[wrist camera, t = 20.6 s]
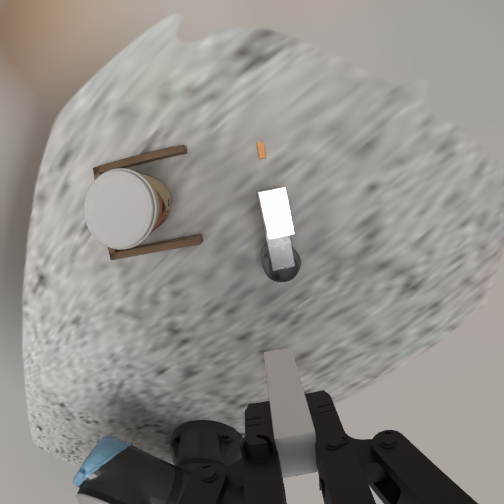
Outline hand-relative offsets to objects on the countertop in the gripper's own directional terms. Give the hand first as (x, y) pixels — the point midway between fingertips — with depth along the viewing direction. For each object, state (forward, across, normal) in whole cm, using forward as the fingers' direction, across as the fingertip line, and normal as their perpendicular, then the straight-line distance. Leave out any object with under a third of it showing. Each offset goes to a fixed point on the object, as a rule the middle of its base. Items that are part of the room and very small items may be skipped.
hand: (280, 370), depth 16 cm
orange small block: (+30, +3, +14) cm, 34 cm away
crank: (+25, +3, +3) cm, 25 cm away
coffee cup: (+31, -15, +10) cm, 35 cm away
